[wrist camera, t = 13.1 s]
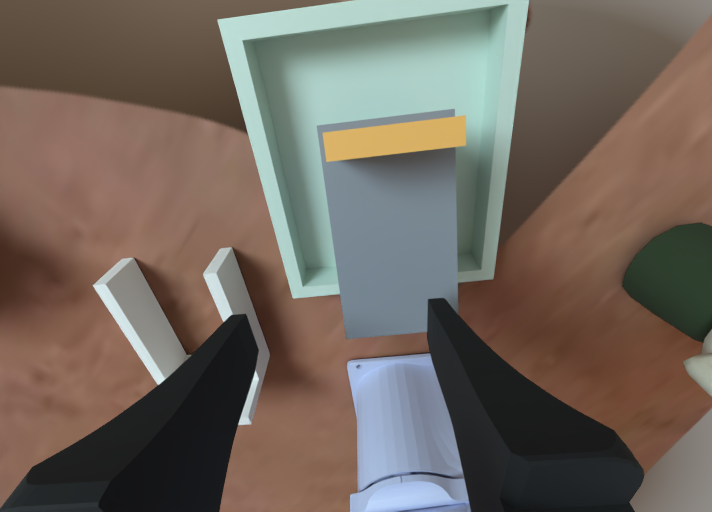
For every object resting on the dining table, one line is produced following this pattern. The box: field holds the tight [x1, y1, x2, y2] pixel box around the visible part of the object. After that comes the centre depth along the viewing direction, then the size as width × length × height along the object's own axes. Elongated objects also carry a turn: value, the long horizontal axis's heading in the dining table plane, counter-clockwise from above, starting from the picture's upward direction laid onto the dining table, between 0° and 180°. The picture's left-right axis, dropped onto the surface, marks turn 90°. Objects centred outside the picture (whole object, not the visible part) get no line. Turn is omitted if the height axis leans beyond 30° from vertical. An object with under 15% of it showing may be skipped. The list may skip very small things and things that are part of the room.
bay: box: [93, 247, 270, 425], centre depth 22 cm, size 8×10×6 cm
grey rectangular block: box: [317, 109, 466, 339], centre depth 15 cm, size 5×9×9 cm, turn 6°
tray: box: [218, 0, 529, 298], centre depth 18 cm, size 13×15×2 cm
